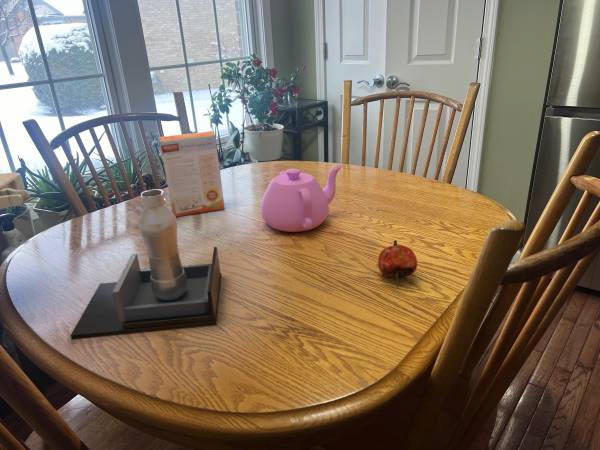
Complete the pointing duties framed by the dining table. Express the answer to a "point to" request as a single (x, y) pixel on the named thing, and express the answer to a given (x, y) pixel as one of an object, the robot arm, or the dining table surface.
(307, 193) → the teapot
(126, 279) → the gray sliding drawer
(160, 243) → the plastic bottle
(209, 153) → the cracker box
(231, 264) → the dining table surface
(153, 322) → the base
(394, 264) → the pomegranate
